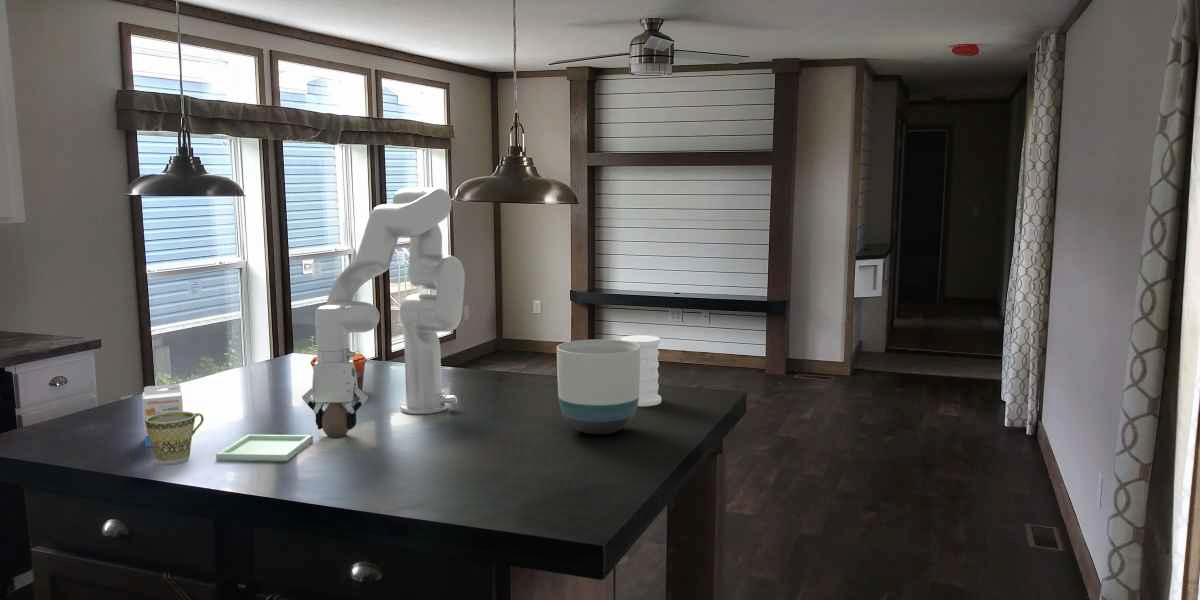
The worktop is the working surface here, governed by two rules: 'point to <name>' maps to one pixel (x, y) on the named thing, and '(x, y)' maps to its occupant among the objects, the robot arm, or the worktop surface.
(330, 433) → the vase
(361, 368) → the food container
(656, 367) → the decorative container
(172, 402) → the ink box
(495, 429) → the worktop surface
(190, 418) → the ceramic cup
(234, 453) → the tray
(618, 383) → the planter
